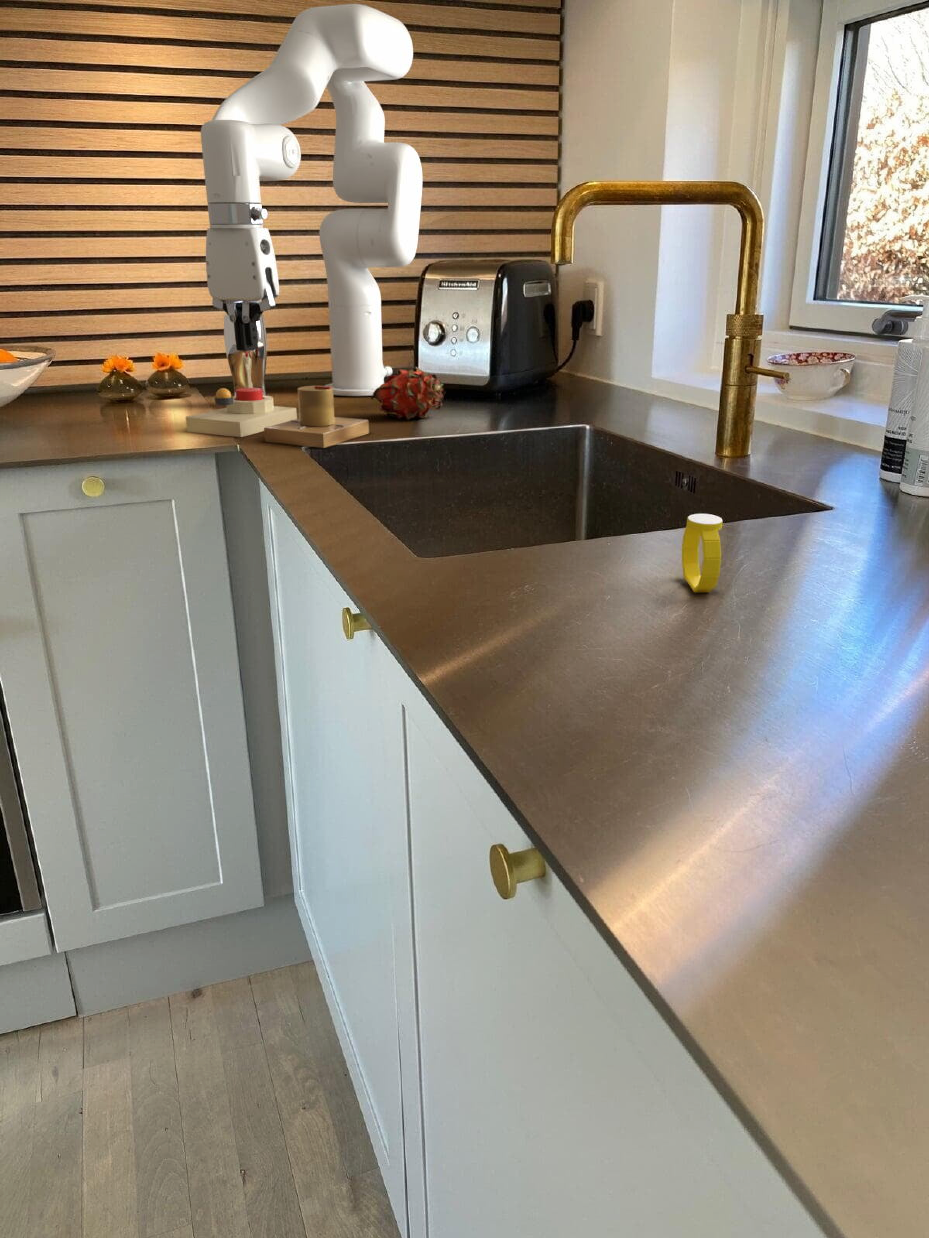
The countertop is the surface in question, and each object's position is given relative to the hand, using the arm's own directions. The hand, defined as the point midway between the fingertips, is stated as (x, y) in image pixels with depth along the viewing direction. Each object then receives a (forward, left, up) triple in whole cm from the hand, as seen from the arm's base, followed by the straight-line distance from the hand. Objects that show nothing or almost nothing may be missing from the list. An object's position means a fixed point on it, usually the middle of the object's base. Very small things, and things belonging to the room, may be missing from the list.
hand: (247, 349), depth 142 cm
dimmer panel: (+4, +15, -11) cm, 19 cm away
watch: (+43, +79, -11) cm, 91 cm away
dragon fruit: (-16, +19, -11) cm, 27 cm away
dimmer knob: (+4, +15, -9) cm, 18 cm away
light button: (0, 0, -8) cm, 8 cm away
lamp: (+6, 0, -7) cm, 10 cm away
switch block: (+2, 0, -11) cm, 11 cm away
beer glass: (-14, -11, -11) cm, 21 cm away
